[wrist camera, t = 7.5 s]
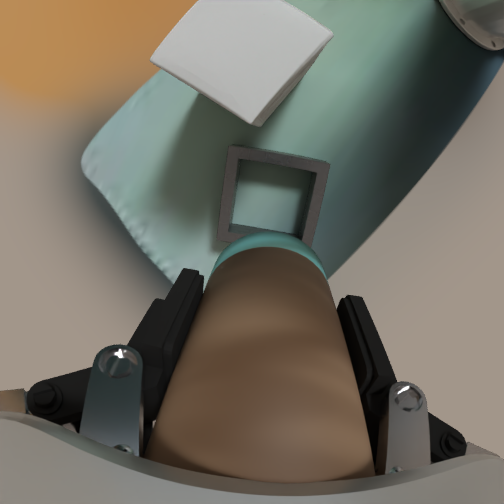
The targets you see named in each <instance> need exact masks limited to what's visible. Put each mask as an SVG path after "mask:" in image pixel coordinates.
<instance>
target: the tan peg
mask: <svg viewBox="0 0 504 504" xmlns="http://www.w3.org/2000/svg"><path fill="white" fill-rule="evenodd" d="M144 459H147V460H151V461H154V462H158V463H161V464H165V465H169V466H172V467H177V468H181V469H185V470H190V471H194V472H199V473H205V474H210V475H216V476H223V477H230V478H238V479H247V480H254V481H260V482H270V483H284V484H295V483H313V482H324V481H339V480H350V479H359V478H367V477H374V476H376V475H375V469H374V463H373V458H372V452H371V447H370V442H369V437H368V432H367V427H366V422H365V417H364V413H363V408H362V404H361V400H360V395H359V391H358V387H357V383H356V379H355V375H354V371H353V367H352V363H351V360H350V356H349V352H348V348H347V345H346V341H345V338H344V334H343V331H342V327H341V324H340V320H339V317H338V314H337V310H336V307H335V304H334V301H333V297H332V294H331V291H330V288H329V284H328V281H327V278H326V275H325V272H324V269H323V266H322V264H321V261H320V260H319V258H318V256H317V255H316V253H315V252H314V251H313V250H312V249H311V248H310V247H309V246H308V245H307V244H305V243H304V242H303V241H301V240H299V239H297V238H295V237H293V236H290V235H288V234H284V233H280V232H257V233H252V234H249V235H246V236H243V237H241V238H239V239H237V240H236V241H234V242H232V243H231V244H230V245H229V246H227V247H226V248H225V249H224V250H223V252H222V253H221V254H220V256H219V257H218V259H217V261H216V263H215V265H214V268H213V270H212V273H211V275H210V278H209V280H208V283H207V285H206V288H205V290H204V293H203V295H202V298H201V300H200V303H199V305H198V308H197V310H196V313H195V315H194V318H193V321H192V323H191V326H190V328H189V331H188V334H187V336H186V339H185V342H184V344H183V347H182V349H181V352H180V355H179V357H178V360H177V363H176V366H175V368H174V371H173V374H172V376H171V379H170V382H169V385H168V387H167V390H166V393H165V396H164V399H163V401H162V404H161V407H160V410H159V413H158V416H157V419H156V422H155V424H154V427H153V430H152V433H151V436H150V439H149V442H148V445H147V448H146V451H145V454H144Z"/></svg>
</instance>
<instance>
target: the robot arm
mask: <svg viewBox="0 0 504 504" xmlns="http://www.w3.org/2000/svg"><path fill="white" fill-rule="evenodd" d="M439 2H440V3H441V5H442V7H443V9H444V10H445V12H446V13H447V15H448V16H449V17H450V19H451V20H452V21H453V22H454V24H455V25H456V26H457V27H458V28H459V29H460V30H461V31H462V32H463V33H464V34H465V35H466V36H467V37H468V38H469V39H470V40H472V41H473V42H474V43H476V44H477V45H479V46H480V47H482V48H485V49H487V50H492V51H494V50H500V49H503V48H504V0H439ZM203 284H204V276H203V275H199V271H197V270H192V269H187V268H183V270H182V271H181V273H180V275H179V276H178V278H177V280H176V281H175V283H174V285H173V287H172V288H171V290H170V292H169V293H168V295H167V297H166V299H165V300H162V299H158V298H157V299H155V300H154V301H153V303H152V304H151V306H150V308H149V309H148V311H147V313H146V314H145V316H144V317H143V319H142V321H141V322H140V324H139V326H138V327H137V329H136V331H135V332H134V334H133V336H132V338H131V339H130V341H129V343H128V344H127V345H121V344H119V345H111V346H107V347H105V348H103V349H102V350H101V351H99V353H97V355H96V357H95V359H94V362H93V366H92V367H90V368H87V369H83V370H79V371H76V372H72V373H69V374H65V375H62V376H58V377H54V378H50V379H46V380H42V381H40V382H38V383H36V384H34V385H33V386H32V387H31V388H30V390H29V391H27V392H26V391H25V390H24V389H15V390H4V391H0V504H504V459H502V458H500V457H499V456H498V455H497V454H494V453H492V452H490V451H487V450H486V449H483V448H481V447H479V446H476V445H474V444H472V443H470V442H467V443H466V441H465V438H464V437H463V436H462V434H461V433H460V432H458V431H457V430H456V429H454V428H453V427H451V426H449V425H448V424H446V423H445V422H443V421H441V420H440V419H438V418H437V417H435V416H434V415H432V414H431V413H429V412H428V409H427V401H426V397H425V395H424V393H423V392H422V390H420V389H419V387H417V386H416V385H414V384H412V383H409V382H402V381H401V382H397V380H396V377H395V374H394V372H393V369H392V366H391V364H390V361H389V359H388V356H387V354H386V351H385V349H384V346H383V344H382V341H381V339H380V337H379V334H378V332H377V330H376V327H375V325H374V323H373V320H372V318H371V316H370V313H369V311H368V309H367V307H366V305H365V302H364V300H363V298H362V297H359V296H353V295H347V296H346V297H345V298H342V299H341V300H340V302H339V305H338V307H337V314H338V317H339V320H340V324H341V327H342V331H343V334H344V338H345V341H346V345H347V348H348V352H349V356H350V360H351V363H352V367H353V371H354V375H355V379H356V383H357V387H358V391H359V395H360V400H361V404H362V408H363V413H364V417H365V422H366V427H367V432H368V437H369V442H370V447H371V452H372V458H373V463H374V469H375V475H376V476H374V477H367V478H359V479H350V480H339V481H324V482H313V483H295V484H284V483H270V482H260V481H254V480H247V479H238V478H230V477H223V476H216V475H210V474H205V473H199V472H194V471H190V470H185V469H181V468H177V467H172V466H169V465H165V464H161V463H158V462H154V461H151V460H147V459H144V454H145V451H146V448H147V445H148V442H149V439H150V436H151V433H152V430H153V427H154V424H155V420H156V419H157V416H158V413H159V410H160V407H161V404H162V401H163V399H164V396H165V393H166V390H167V387H168V385H169V382H170V379H171V376H172V374H173V371H174V368H175V366H176V363H177V360H178V357H179V355H180V352H181V349H182V347H183V344H184V342H185V339H186V336H187V334H188V331H189V328H190V326H191V323H192V321H193V318H194V315H195V313H196V310H197V308H198V305H199V303H200V300H201V298H202V295H203Z"/></svg>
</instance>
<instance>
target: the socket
mask: <svg viewBox="0 0 504 504" xmlns="http://www.w3.org/2000/svg"><path fill="white" fill-rule="evenodd" d="M241 159H246V160H252V161H259V162H265V163H270V164H276V165H282V166H287V167H292V168H297V169H302V170H307V171H312V172H313V173H312V178H311V182H310V187H309V192H308V196H307V201H306V206H305V210H304V215H303V219H302V224H301V228H300V232H299V235H296V234H291V233H285V232H280V233H284V234H288V235H290V236H293V237H295V238H297V239H299V240H301V241H303V242H304V243H305V244H307V245H308V246H309V247H310V248H311V245H312V241H313V237H314V233H315V229H316V225H317V221H318V217H319V213H320V209H321V204H322V200H323V196H324V191H325V187H326V182H327V178H328V173H329V168H330V164H329V163H327V162H326V161H322V160H318V159H313V158H309V157H304V156H299V155H294V154H289V153H283V152H278V151H272V150H266V149H260V148H254V147H247V146H240V145H230V146H229V147H228V154H227V161H226V168H225V176H224V183H223V191H222V199H221V207H220V215H219V224H218V233H217V240H220V241H226V242H234V241H236V240H237V239H239V238H241V237H243V236H246V235H249V234H252V233H257V232H279V231H274V230H268V229H262V228H256V227H250V226H244V225H238V224H232V218H233V211H234V204H235V197H236V189H237V183H238V176H239V169H240V162H241Z"/></svg>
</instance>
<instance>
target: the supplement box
mask: <svg viewBox="0 0 504 504" xmlns="http://www.w3.org/2000/svg"><path fill="white" fill-rule="evenodd" d="M333 36H334V34H333V33H332V31H331V30H329V29H328V28H326V27H325V26H324V25H322V24H321V23H319V22H318V21H316V20H315V19H313V18H312V17H310V16H309V15H307V14H305V13H304V12H302V11H301V10H299V9H297V8H296V7H294V6H292V5H291V4H289V3H287V2H285V1H284V0H198V1H197V2H196V3H195V4H194V5H193V6H192V7H191V9H190V10H189V11H188V12H187V13H186V14H185V15H184V16H183V17H182V19H181V20H180V21H179V22H178V23H177V24H176V26H175V27H174V28H173V29H172V30H171V32H170V33H169V34H168V35H167V36H166V38H165V39H164V40H163V42H162V43H161V44H160V45H159V47H158V48H157V49H156V51H155V52H154V54H153V55H152V57H151V58H150V62H152V63H153V64H154V65H156V66H158V67H159V68H161V69H163V70H164V71H166V72H168V73H169V74H171V75H172V76H174V77H176V78H177V79H179V80H180V81H182V82H184V83H185V84H187V85H188V86H190V87H192V88H193V89H195V90H196V91H198V92H200V93H201V94H203V95H204V96H206V97H207V98H209V99H211V100H212V101H214V102H215V103H217V104H219V105H220V106H222V107H223V108H225V109H227V110H228V111H230V112H231V113H233V114H234V115H236V116H238V117H239V118H241V119H242V120H244V121H245V122H247V123H249V124H251V125H254V126H257V127H261V126H262V125H263V123H264V122H265V121H266V120H267V119H268V117H269V116H270V115H271V114H272V113H273V111H274V110H275V109H276V108H277V107H278V106H279V104H280V103H281V102H282V101H283V100H284V99H285V97H286V96H287V95H288V94H289V93H290V92H291V90H292V89H293V88H294V87H295V86H296V85H297V83H298V82H299V81H300V80H301V79H302V78H303V76H304V75H305V74H306V73H307V71H308V70H309V69H310V67H311V66H312V64H313V63H314V62H315V60H316V59H317V57H318V56H319V54H320V53H321V51H322V50H323V48H324V47H325V46H326V44H327V43H328V42H329V41H330V40H331V39H332V38H333Z"/></svg>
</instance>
